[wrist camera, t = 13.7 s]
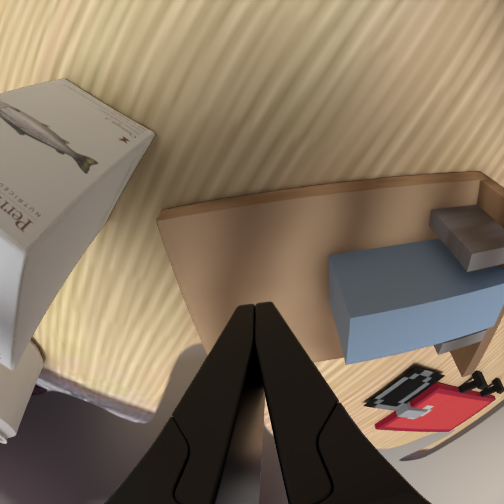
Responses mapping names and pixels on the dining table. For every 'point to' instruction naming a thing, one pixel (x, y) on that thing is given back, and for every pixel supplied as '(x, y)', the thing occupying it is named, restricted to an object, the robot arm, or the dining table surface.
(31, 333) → the supplement box
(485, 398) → the red board with handle
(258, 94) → the dining table surface
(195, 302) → the shelf
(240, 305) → the robot arm
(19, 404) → the can
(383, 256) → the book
